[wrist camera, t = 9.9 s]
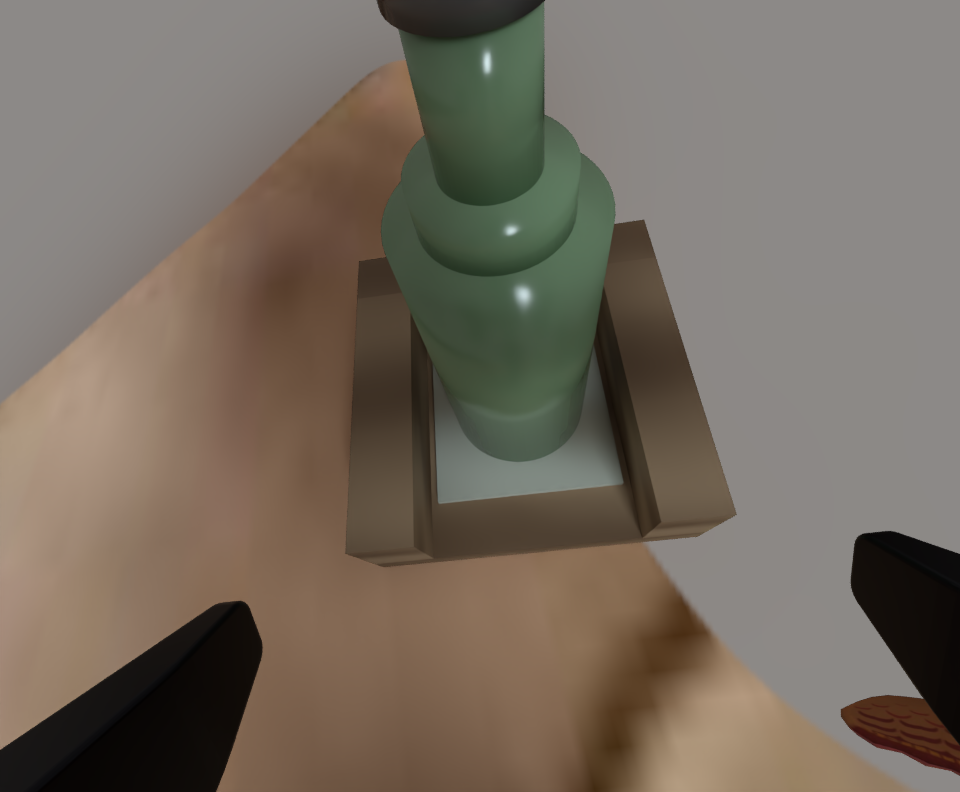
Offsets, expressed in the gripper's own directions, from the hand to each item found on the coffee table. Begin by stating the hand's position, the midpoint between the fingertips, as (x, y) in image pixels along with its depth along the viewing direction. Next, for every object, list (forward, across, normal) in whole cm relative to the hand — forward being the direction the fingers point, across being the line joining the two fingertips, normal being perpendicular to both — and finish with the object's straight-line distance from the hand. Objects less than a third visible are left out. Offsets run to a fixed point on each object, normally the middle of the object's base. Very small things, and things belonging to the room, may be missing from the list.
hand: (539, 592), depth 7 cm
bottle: (+13, 0, +1) cm, 13 cm away
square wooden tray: (+14, 0, +2) cm, 14 cm away
